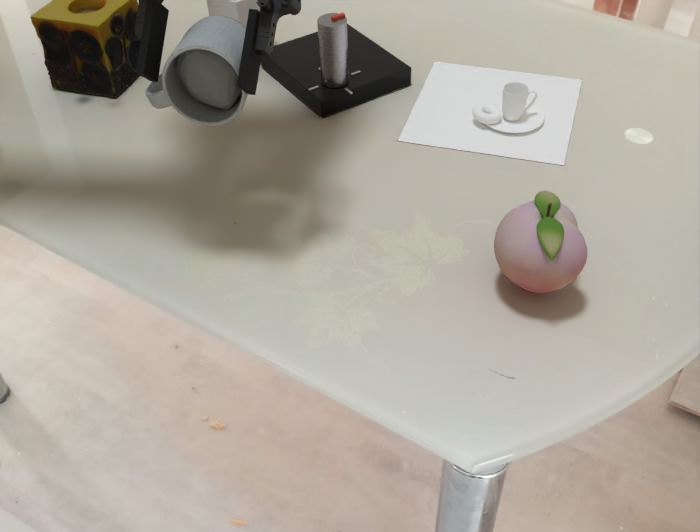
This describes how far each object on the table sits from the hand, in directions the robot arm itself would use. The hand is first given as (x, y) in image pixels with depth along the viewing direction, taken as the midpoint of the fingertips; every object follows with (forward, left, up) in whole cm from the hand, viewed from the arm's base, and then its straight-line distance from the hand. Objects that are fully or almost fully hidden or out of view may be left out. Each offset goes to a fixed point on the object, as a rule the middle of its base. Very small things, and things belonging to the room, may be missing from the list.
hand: (195, 83), depth 69 cm
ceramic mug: (-3, +2, -4) cm, 5 cm away
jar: (-36, +21, -19) cm, 45 cm away
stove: (-23, +28, -18) cm, 41 cm away
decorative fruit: (+23, +22, -19) cm, 37 cm away
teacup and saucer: (-4, +40, -19) cm, 44 cm away
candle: (-42, +2, -19) cm, 46 cm away
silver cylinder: (-18, +25, -16) cm, 35 cm away
